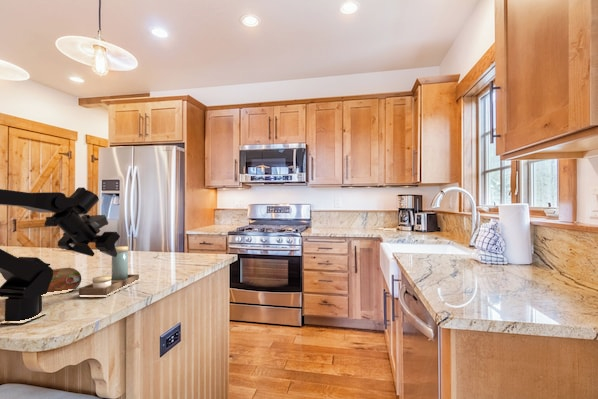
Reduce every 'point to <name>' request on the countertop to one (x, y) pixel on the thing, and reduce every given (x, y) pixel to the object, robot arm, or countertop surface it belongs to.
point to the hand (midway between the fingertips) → (104, 255)
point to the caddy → (104, 291)
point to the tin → (64, 279)
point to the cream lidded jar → (102, 281)
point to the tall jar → (120, 264)
